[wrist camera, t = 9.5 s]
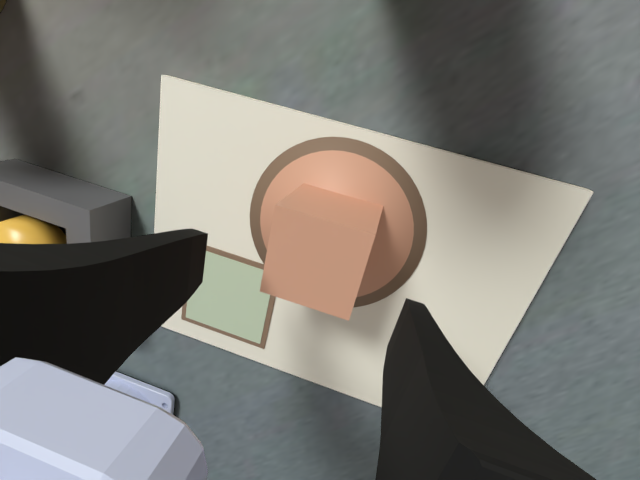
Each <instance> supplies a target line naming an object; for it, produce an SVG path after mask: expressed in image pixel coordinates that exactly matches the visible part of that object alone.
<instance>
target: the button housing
mask: <svg viewBox="0 0 640 480" xmlns="http://www.w3.org/2000/svg"><path fill="white" fill-rule="evenodd" d="M21 215H28V216H31V217H34V218H37V219H40V220H43V221H46V222H49V223H52V224H54V225H57V226H58V227H59V228H60V229H61V230H62V231H63V232H64V234H65V235H66V240H67V244H71V243H87V242H99V241H108V240H115V239H122V238H130V237H131V196H130V195H126V194H123V193H120V192H117V191H114V190H111V189H108V188H105V187H102V186H98V185H95V184H92V183H89V182H86V181H83V180H80V179H77V178H74V177H70V176H67V175H64V174H61V173H58V172H55V171H52V170H49V169H46V168H42V167H39V166H36V165H33V164H30V163H27V162H24V161H21V160H18V159H12V160H5V161H0V222H1V221H4V220H7V219H11V218H14V217H18V216H21Z"/></svg>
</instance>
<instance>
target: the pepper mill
mask: <svg viewBox="0 0 640 480" xmlns="http://www.w3.org/2000/svg"><path fill="white" fill-rule="evenodd" d="M6 1H7V0H0V13H1V11H2V9H3V7H4V5H5V3H6Z"/></svg>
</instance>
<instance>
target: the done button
mask: <svg viewBox="0 0 640 480" xmlns="http://www.w3.org/2000/svg"><path fill="white" fill-rule="evenodd" d="M0 243H14V244H67V240H66V235H65V234H64V232H63V231H62V230H61V229H60V228H59V227H58V226H57V225H54V224H52V223H49V222H46V221H43V220H40V219H37V218H34V217H31V216H28V215H21V216H18V217H14V218H11V219H7V220H4V221H1V222H0Z"/></svg>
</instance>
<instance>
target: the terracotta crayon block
mask: <svg viewBox="0 0 640 480" xmlns="http://www.w3.org/2000/svg"><path fill="white" fill-rule="evenodd" d="M382 209H383V206H382V205H378V204H375V203H371V202H368V201H364V200H361V199H357V198H354V197H350V196H347V195H343V194H340V193H336V192H333V191H329V190H325V189H322V188H318V187H315V186H311V185H308V184H304V183H303V184H302V185H300V186H299V187H298V188H296V189H295V190H294V191H292V192H291V193H290V194H289V195H287V196H286V197H285V198H283V199H282V200H281V201H279V202H278V203H277V204H276V205H275V208H274V214H273V220H272V225H271V231H270V236H269V242H268V248H267V253H266V259H265V264H264V270H263V276H262V281H261V287H260V292H263V293H266V294H269V295H272V296H275V297H278V298H281V299H284V300H287V301H290V302H294V303H297V304H300V305H303V306H306V307H309V308H312V309H315V310H318V311H321V312H324V313H327V314H330V315H333V316H336V317H339V318H342V319H345V320H348V321H349V319H350V316H351V313H352V309H353V306H354V303H355V300H356V297H357V293H358V290H359V287H360V284H361V280H362V277H363V274H364V271H365V268H366V264H367V261H368V258H369V255H370V252H371V248H372V245H373V242H374V239H375V235H376V232H377V228H378V224H379V220H380V216H381V213H382Z"/></svg>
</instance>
